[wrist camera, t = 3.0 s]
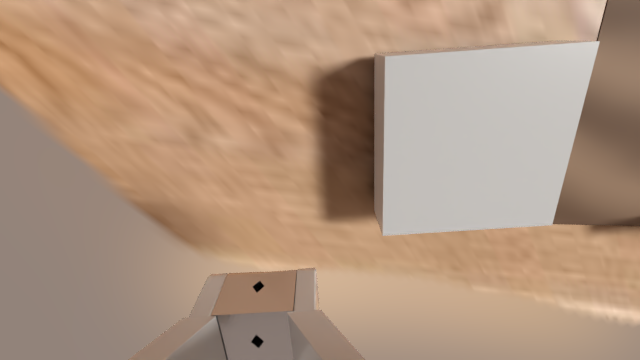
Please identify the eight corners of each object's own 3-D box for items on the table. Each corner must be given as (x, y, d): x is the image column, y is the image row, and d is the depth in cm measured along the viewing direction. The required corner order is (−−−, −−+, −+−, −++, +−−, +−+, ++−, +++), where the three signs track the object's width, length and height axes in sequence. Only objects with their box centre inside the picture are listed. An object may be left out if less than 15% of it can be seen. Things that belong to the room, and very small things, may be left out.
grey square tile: (371, 52, 19) (385, 56, 15) (544, 40, 19) (599, 41, 15) (372, 204, 23) (382, 235, 19) (514, 194, 23) (551, 225, 19)
